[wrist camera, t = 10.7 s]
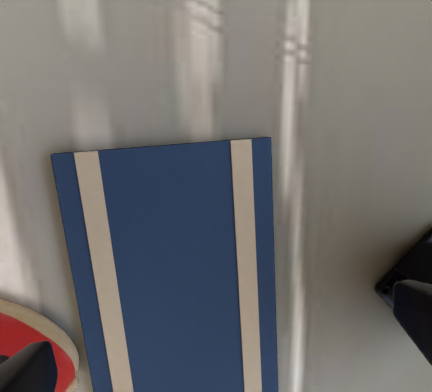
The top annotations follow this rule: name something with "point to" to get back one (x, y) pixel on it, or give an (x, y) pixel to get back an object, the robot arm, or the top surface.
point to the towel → (173, 264)
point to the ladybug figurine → (35, 332)
